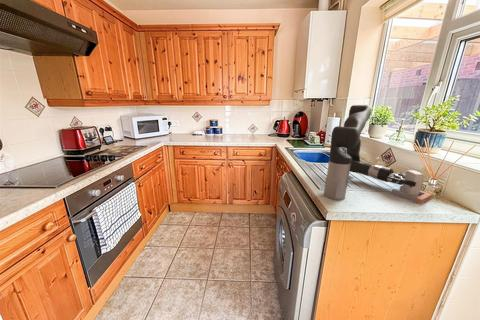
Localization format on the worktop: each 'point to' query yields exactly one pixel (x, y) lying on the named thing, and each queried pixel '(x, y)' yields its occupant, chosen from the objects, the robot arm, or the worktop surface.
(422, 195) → the channel
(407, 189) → the skincare box
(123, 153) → the worktop surface
